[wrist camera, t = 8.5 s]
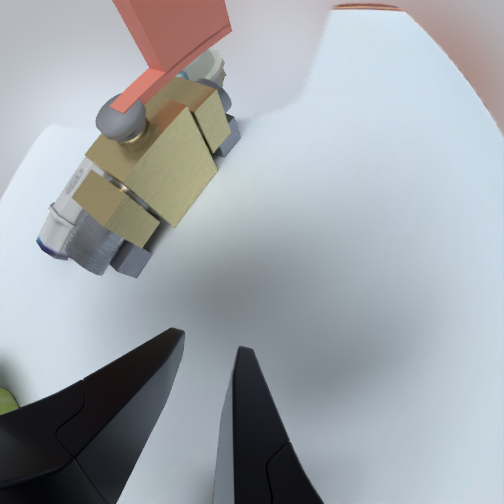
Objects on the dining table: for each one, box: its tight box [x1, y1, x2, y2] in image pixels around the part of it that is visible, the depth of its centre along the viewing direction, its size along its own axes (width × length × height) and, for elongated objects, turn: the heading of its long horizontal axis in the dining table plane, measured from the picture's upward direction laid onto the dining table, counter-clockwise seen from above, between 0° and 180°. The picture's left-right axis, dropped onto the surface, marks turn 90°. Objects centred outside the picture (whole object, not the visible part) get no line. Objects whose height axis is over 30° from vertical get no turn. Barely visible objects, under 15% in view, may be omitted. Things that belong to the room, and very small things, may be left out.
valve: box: [64, 76, 240, 278], centre depth 20 cm, size 16×5×9 cm, turn 145°
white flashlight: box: [36, 48, 226, 261], centre depth 24 cm, size 5×7×25 cm
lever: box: [96, 0, 232, 140], centre depth 12 cm, size 11×3×7 cm, turn 143°
